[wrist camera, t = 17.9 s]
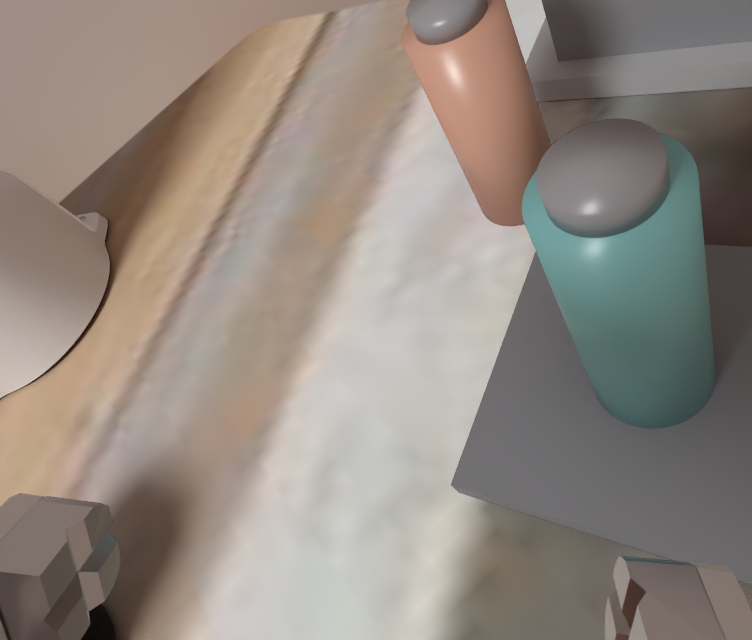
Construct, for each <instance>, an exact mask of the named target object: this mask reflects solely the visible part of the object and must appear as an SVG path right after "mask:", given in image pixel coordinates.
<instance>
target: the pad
mask: <svg viewBox="0 0 752 640" xmlns="http://www.w3.org/2000/svg"><path fill="white" fill-rule="evenodd" d="M704 246H705V258H706V270H707V281H708V293H709V305H710V316H711V328H712V340H713V352H714V363H715V386H714V389H713V393H712V395H711V397H710V399H709V401H708V402H707V403H706V405H705V406H704V407H703V408H702V409H701V410H700V411H699V412H698V413H697V414H696V415H694V416H693V417H692V418H690V419H688V420H687V421H684V422H682V423H680V424H677V425H674V426H671V427H665V428H656V429H651V428H641V427H636V426H632V425H629V424H626V423H624V422H622V421H620V420H618V419H616V418H615V417H613V416H612V415H611V414H609V413H608V412H607V411H606V410H605V409H604V408H603V406H602V405H601V404H600V402H599V401H598V399H597V397H596V395H595V392H594V390H593V387H592V385H591V383H590V380H589V378H588V375H587V373H586V371H585V368H584V366H583V363H582V361H581V358H580V356H579V354H578V351H577V349H576V346H575V344H574V342H573V339H572V337H571V334H570V332H569V330H568V327H567V325H566V322H565V320H564V317H563V315H562V313H561V310H560V308H559V305H558V303H557V301H556V298H555V296H554V293H553V291H552V288H551V286H550V284H549V281H548V279H547V276H546V274H545V272H544V269H543V267H542V264H541V262H540V260H539V257H538V255H537V252H535V255H534V258H533V261H532V263H531V266H530V269H529V272H528V274H527V277H526V280H525V283H524V285H523V288H522V291H521V294H520V296H519V299H518V302H517V305H516V307H515V310H514V313H513V316H512V318H511V321H510V324H509V326H508V329H507V332H506V335H505V337H504V340H503V343H502V346H501V348H500V351H499V354H498V357H497V359H496V362H495V365H494V368H493V370H492V373H491V376H490V379H489V381H488V384H487V387H486V390H485V392H484V395H483V398H482V401H481V403H480V406H479V409H478V412H477V414H476V417H475V420H474V423H473V425H472V428H471V431H470V434H469V436H468V439H467V442H466V445H465V447H464V450H463V453H462V456H461V458H460V461H459V464H458V467H457V469H456V472H455V475H454V478H453V480H452V483H451V486H453V487H454V488H455V489H456V490H457V491H458V492H459V493H462V494H465V495H468V496H472V497H475V498H478V499H481V500H484V501H487V502H491V503H494V504H497V505H500V506H503V507H507V508H510V509H513V510H516V511H519V512H522V513H526V514H529V515H532V516H535V517H538V518H541V519H545V520H548V521H551V522H554V523H557V524H560V525H564V526H567V527H570V528H573V529H576V530H579V531H583V532H586V533H589V534H592V535H595V536H598V537H602V538H605V539H608V540H611V541H614V542H617V543H621V544H624V545H627V546H630V547H633V548H637V549H640V550H643V551H646V552H649V553H652V554H656V555H659V556H662V557H665V558H668V559H671V560H675V561H681V562H688V563H691V562H693V563H704V564H715V565H726V566H728V567H729V568H730V569H731V570H732V571H733V572H734V574H735V576H736V578H737V580H738V581H741V582H744V583H748V584H751V585H752V247H744V246H726V245H707V244H704Z"/></svg>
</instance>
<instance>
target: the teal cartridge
mask: <svg viewBox="0 0 752 640" xmlns="http://www.w3.org/2000/svg"><path fill="white" fill-rule="evenodd" d="M522 216H523V221H524V223H525V226H526V228H527V231H528V233H529V235H530V238H531V240H532V243H533V245H534V247H535V250H536V252H537V255H538V257H539V260H540V262H541V264H542V267H543V269H544V272H545V274H546V276H547V279H548V281H549V284H550V286H551V288H552V291H553V293H554V296H555V298H556V301H557V303H558V305H559V308H560V310H561V313H562V315H563V317H564V320H565V322H566V325H567V327H568V330H569V332H570V334H571V337H572V339H573V342H574V344H575V346H576V349H577V351H578V354H579V356H580V358H581V361H582V363H583V366H584V368H585V371H586V373H587V375H588V378H589V380H590V383H591V385H592V387H593V390H594V392H595V395H596V397H597V399H598V401H599V402H600V404H601V405H602V406H603V408H604V409H605V410H606V411H607V412H608V413H609V414H611V415H612V416H613V417H615V418H616V419H618V420H620V421H622V422H624V423H626V424H629V425H632V426H636V427H641V428H651V429H656V428H665V427H671V426H674V425H677V424H680V423H682V422H684V421H687V420H688V419H690V418H692V417H693V416H694V415H696V414H697V413H698V412H699V411H700V410H701V409H702V408H703V407H704V406H705V405H706V403H707V402H708V401H709V399H710V397H711V395H712V393H713V389H714V386H715V363H714V352H713V340H712V328H711V316H710V305H709V293H708V281H707V270H706V258H705V246H704V235H703V223H702V211H701V199H700V188H699V176H698V170H697V166H696V163H695V161H694V159H693V157H692V155H691V154H690V153H689V151H688V150H687V149H686V148H685V147H684V146H683V145H682V144H681V143H679V142H678V141H676V140H675V139H673V138H671V137H669V136H667V135H665V134H662V133H659V132H657V131H656V130H654V129H653V128H652V127H650V126H648V125H646V124H644V123H642V122H639V121H635V120H630V119H605V120H600V121H595V122H592V123H588V124H586V125H583V126H580V127H578V128H576V129H574V130H572V131H570V132H569V133H567V134H565V135H564V136H562V137H561V138H560V139H558V140H557V141H556V142H555V143H554V144H553V145H552V146H551V147H550V148H549V149H548V150H547V151H546V153H545V154H544V155H543V157H542V159H541V161H540V163H539V165H538V168H537V171H536V172H535V173H534V174H533V176H532V178H531V179H530V181H529V182H528V185H527V187H526V189H525V192H524V195H523V200H522Z"/></svg>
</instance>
